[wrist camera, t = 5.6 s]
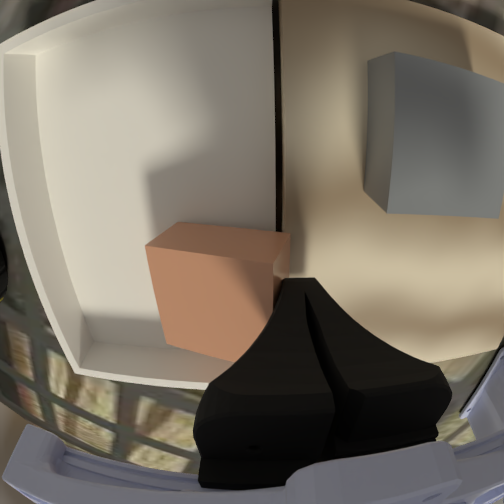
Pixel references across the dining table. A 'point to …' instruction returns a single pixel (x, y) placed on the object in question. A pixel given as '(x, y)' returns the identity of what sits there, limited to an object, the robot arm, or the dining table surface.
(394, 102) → the tile slate
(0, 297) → the tape measure
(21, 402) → the dining table surface
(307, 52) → the deck
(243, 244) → the tile terracotta
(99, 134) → the box
